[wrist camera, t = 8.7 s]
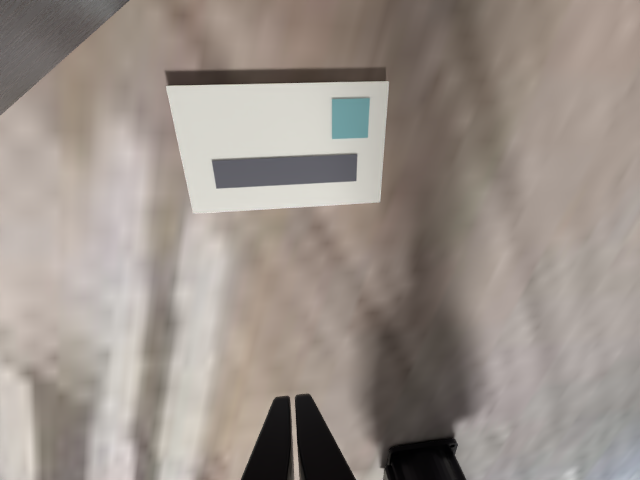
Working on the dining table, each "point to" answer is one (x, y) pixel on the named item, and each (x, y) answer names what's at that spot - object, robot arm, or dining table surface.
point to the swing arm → (43, 38)
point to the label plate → (280, 143)
